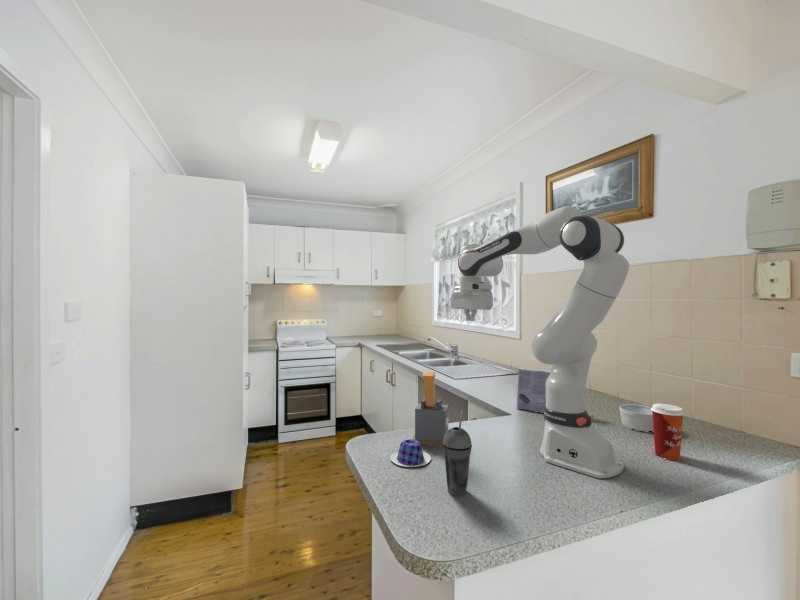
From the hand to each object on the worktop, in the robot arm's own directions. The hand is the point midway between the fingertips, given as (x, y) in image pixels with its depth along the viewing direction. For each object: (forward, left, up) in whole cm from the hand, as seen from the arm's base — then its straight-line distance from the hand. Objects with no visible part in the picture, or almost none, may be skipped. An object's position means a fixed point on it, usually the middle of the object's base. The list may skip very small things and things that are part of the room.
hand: (470, 320), depth 143 cm
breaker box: (-9, +27, -39) cm, 48 cm away
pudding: (-16, +41, -40) cm, 59 cm away
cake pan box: (-10, -32, -39) cm, 52 cm away
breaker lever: (-10, +28, -27) cm, 40 cm away
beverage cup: (-37, +42, -39) cm, 68 cm away
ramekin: (-42, -46, -39) cm, 74 cm away
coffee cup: (-58, -25, -39) cm, 74 cm away
